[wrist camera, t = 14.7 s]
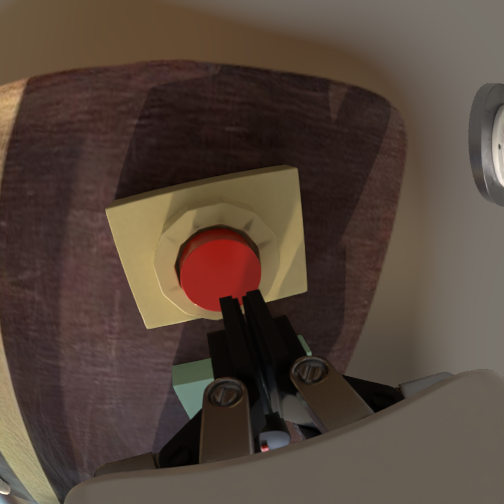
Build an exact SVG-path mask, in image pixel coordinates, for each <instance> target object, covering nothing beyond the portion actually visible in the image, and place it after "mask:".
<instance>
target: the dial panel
mask: <svg viewBox="0 0 504 504" xmlns="http://www.w3.org/2000/svg"><path fill="white" fill-rule="evenodd" d="M298 338H299V340H300V342H301V344H302V346H303V348H304V349H305V351H306V353H307V355H308V356H310V355H311V350H310V349H309V347H308V345H307V344H306V342H305V340H304V339H303V337H302V335H298ZM212 381H214V377H213V370H212V364H211V358H209V359H204V360H199V361H194V362H190V363H185V364H179V365H174V366H172V386H173V388H174V390H175V392H176V394H177V395H178V397H179V399H180V401H181V403H182V405H183V407H184V408H185V410H186V412H187V414H188V416H189V417H190V419H192V418H193V417H194V416H195V414H196V413H197V412H198V411H199V410H200V409H201V408H202V401H203V393H204V390H205V388H206V387H207V385H208V384H210V383H211V382H212ZM263 386H264V385H263Z"/></svg>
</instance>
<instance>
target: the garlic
mask: <svg viewBox="0 0 504 504" xmlns="http://www.w3.org/2000/svg"><path fill="white" fill-rule="evenodd" d="M10 490H11V489H10V486H9V485H8V484H7V483H6V482H4V481H2V480H1V479H0V493H3V494H9V493H10Z"/></svg>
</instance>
